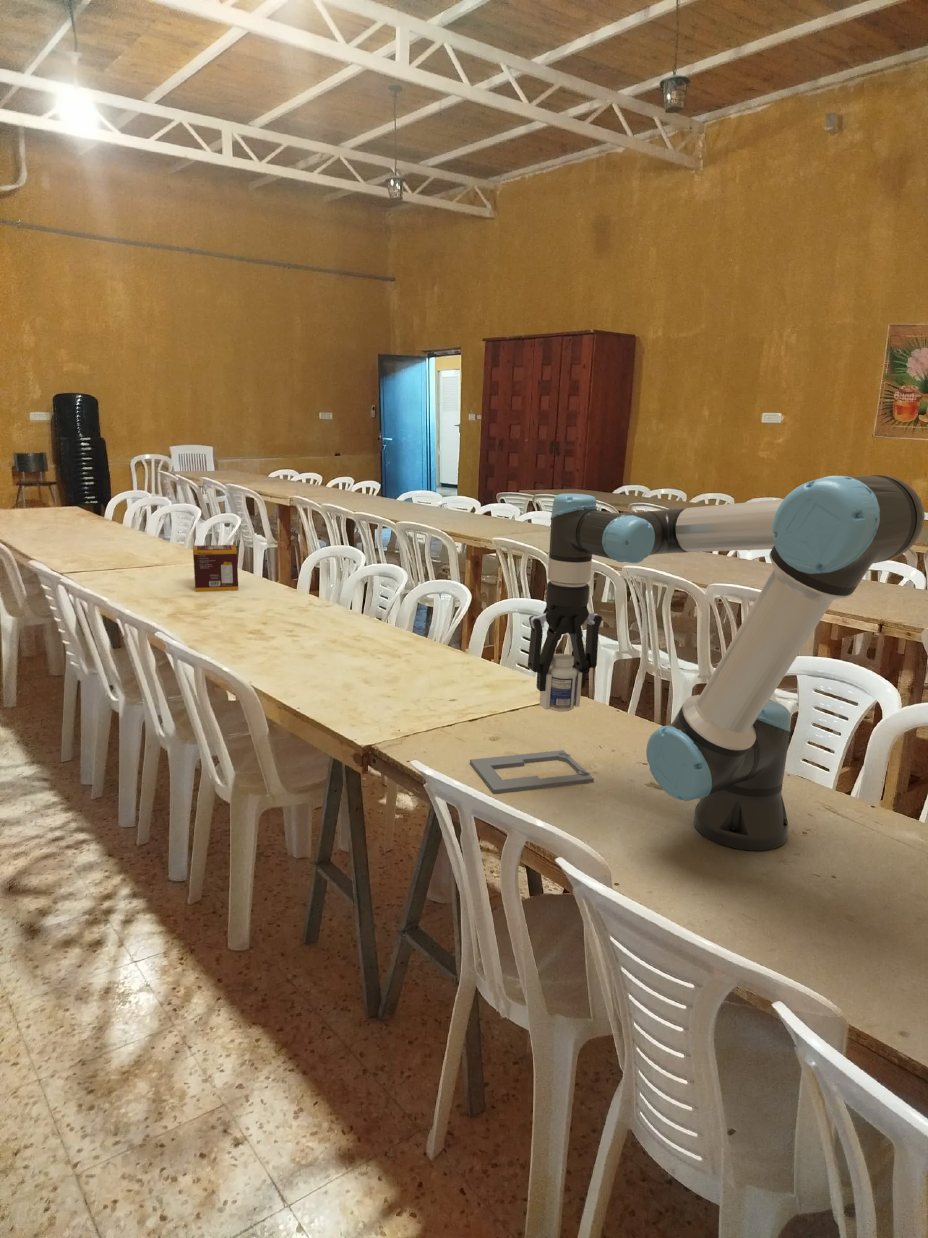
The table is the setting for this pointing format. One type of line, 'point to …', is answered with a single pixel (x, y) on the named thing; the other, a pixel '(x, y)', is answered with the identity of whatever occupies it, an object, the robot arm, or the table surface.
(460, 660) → the table surface
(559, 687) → the pill bottle
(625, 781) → the table surface
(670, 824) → the table surface
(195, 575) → the supplement box
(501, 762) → the keyhole board
